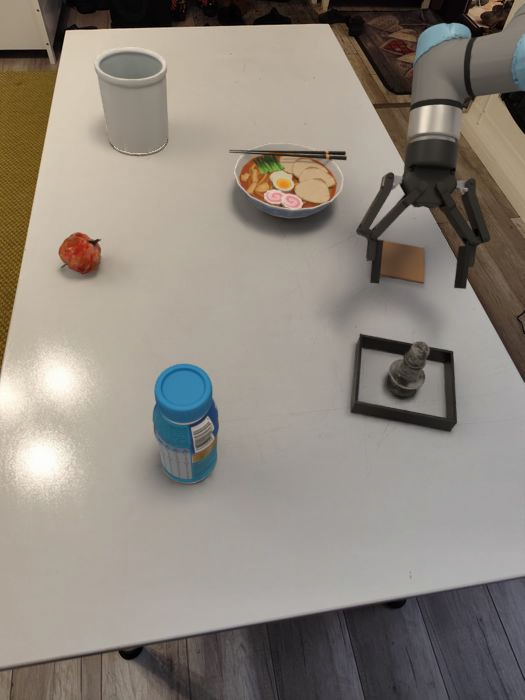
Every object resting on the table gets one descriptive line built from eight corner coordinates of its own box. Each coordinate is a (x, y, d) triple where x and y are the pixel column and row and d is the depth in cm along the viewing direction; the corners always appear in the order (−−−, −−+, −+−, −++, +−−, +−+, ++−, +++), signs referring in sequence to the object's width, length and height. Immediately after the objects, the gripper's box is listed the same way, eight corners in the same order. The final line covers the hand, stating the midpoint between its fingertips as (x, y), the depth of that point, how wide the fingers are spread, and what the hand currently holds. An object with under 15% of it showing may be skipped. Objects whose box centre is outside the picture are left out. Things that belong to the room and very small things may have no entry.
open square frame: (446, 361, 91) (453, 351, 88) (450, 431, 82) (457, 422, 80) (356, 344, 91) (360, 333, 89) (350, 412, 83) (354, 402, 81)
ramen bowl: (226, 235, 105) (227, 202, 98) (228, 167, 118) (229, 134, 112) (347, 241, 107) (356, 210, 100) (336, 174, 120) (343, 142, 114)
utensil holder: (145, 114, 129) (136, 39, 115) (184, 141, 123) (181, 65, 109) (94, 135, 122) (79, 58, 108) (134, 165, 116) (123, 87, 102)
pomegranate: (70, 291, 96) (109, 269, 92) (38, 265, 92) (77, 240, 87) (80, 266, 101) (117, 244, 97) (50, 240, 97) (88, 215, 92)
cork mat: (422, 249, 107) (423, 247, 107) (423, 283, 101) (424, 281, 101) (374, 240, 108) (375, 238, 107) (372, 274, 102) (373, 272, 101)
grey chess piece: (415, 372, 89) (440, 328, 79) (420, 401, 85) (447, 359, 76) (381, 370, 88) (402, 325, 79) (385, 399, 85) (407, 357, 75)
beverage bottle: (157, 485, 73) (142, 417, 57) (162, 431, 78) (150, 355, 62) (217, 486, 74) (218, 418, 58) (218, 432, 79) (220, 357, 63)
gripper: (500, 154, 82) (483, 289, 85) (344, 142, 81) (333, 280, 84) (526, 143, 75) (507, 291, 78) (356, 130, 73) (343, 281, 76)
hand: (417, 286), depth 81 cm, fingers open, 13 cm apart
